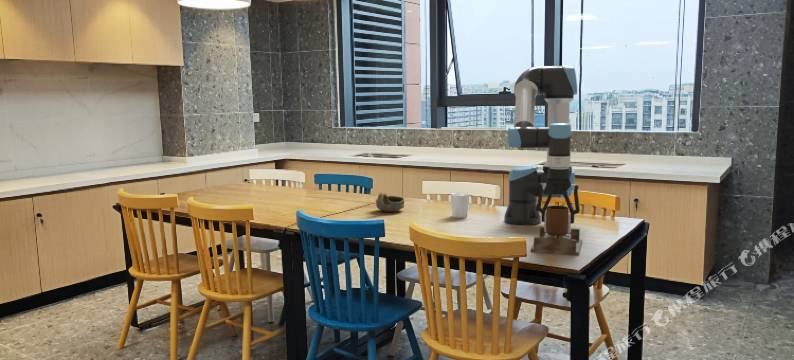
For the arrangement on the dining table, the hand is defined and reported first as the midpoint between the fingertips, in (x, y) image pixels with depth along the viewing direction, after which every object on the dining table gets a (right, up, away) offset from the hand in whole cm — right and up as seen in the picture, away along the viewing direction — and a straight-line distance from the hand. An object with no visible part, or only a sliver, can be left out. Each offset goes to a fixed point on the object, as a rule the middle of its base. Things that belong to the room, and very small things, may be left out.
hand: (557, 231), depth 224 cm
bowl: (-61, +3, +68) cm, 91 cm away
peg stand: (0, -5, +1) cm, 6 cm away
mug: (0, 0, 0) cm, 1 cm away
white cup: (-29, +2, +56) cm, 63 cm away
